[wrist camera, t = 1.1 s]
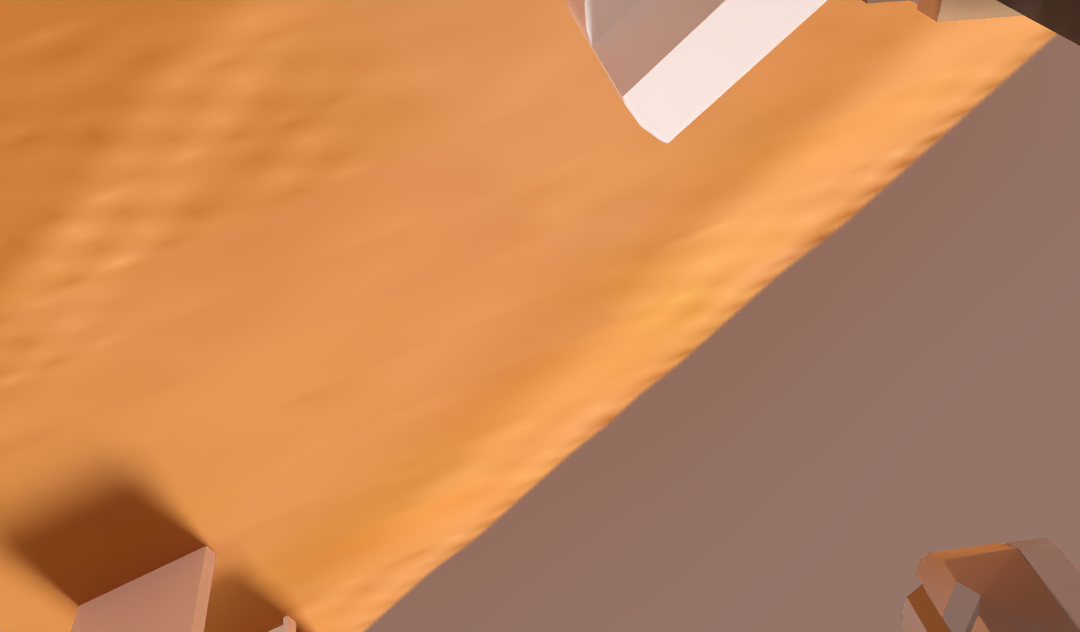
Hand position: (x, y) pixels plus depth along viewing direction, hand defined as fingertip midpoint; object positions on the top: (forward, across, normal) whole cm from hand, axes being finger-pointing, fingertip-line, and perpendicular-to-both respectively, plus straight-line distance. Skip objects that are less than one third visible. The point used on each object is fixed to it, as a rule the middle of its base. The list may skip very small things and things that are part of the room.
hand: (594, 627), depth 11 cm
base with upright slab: (+40, -11, +2) cm, 41 cm away
